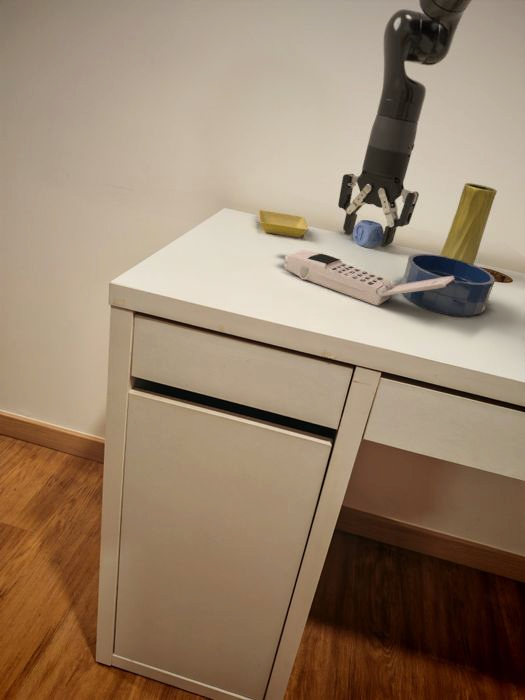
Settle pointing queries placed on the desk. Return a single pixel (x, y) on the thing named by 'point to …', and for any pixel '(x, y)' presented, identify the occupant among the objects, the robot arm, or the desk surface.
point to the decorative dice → (368, 233)
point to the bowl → (457, 297)
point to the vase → (469, 223)
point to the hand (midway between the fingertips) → (366, 239)
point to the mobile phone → (352, 277)
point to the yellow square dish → (282, 223)
